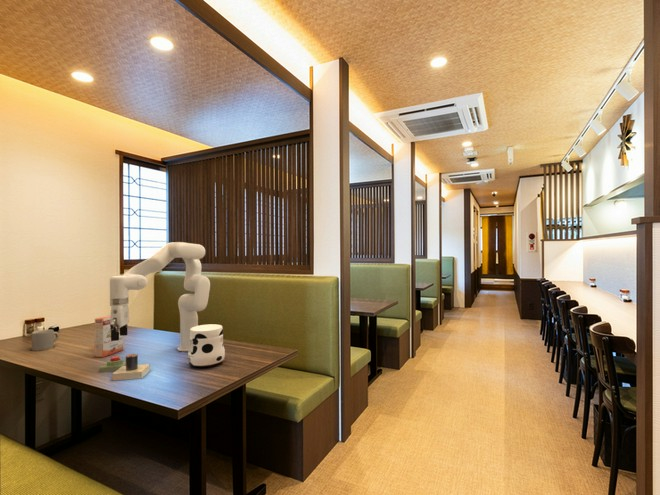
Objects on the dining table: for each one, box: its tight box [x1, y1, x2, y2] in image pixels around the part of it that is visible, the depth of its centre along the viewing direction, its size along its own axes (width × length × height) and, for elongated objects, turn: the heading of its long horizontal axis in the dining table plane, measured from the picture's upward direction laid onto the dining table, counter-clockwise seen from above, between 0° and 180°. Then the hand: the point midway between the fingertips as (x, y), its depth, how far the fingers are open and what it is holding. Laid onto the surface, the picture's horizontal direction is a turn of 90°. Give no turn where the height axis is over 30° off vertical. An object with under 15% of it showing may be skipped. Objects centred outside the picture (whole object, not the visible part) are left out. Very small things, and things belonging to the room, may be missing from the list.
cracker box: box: [94, 314, 124, 358], centre depth 188 cm, size 14×6×21 cm, turn 168°
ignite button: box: [110, 355, 120, 362], centre depth 163 cm, size 4×4×2 cm
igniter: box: [99, 357, 126, 373], centre depth 163 cm, size 10×8×4 cm
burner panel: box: [111, 363, 151, 381], centre depth 154 cm, size 12×10×3 cm
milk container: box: [187, 323, 226, 368], centre depth 168 cm, size 17×17×18 cm
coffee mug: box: [31, 329, 60, 352], centre depth 202 cm, size 13×10×10 cm
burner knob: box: [125, 353, 139, 371], centre depth 154 cm, size 5×5×6 cm
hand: (119, 337), depth 160 cm, fingers open, 9 cm apart
